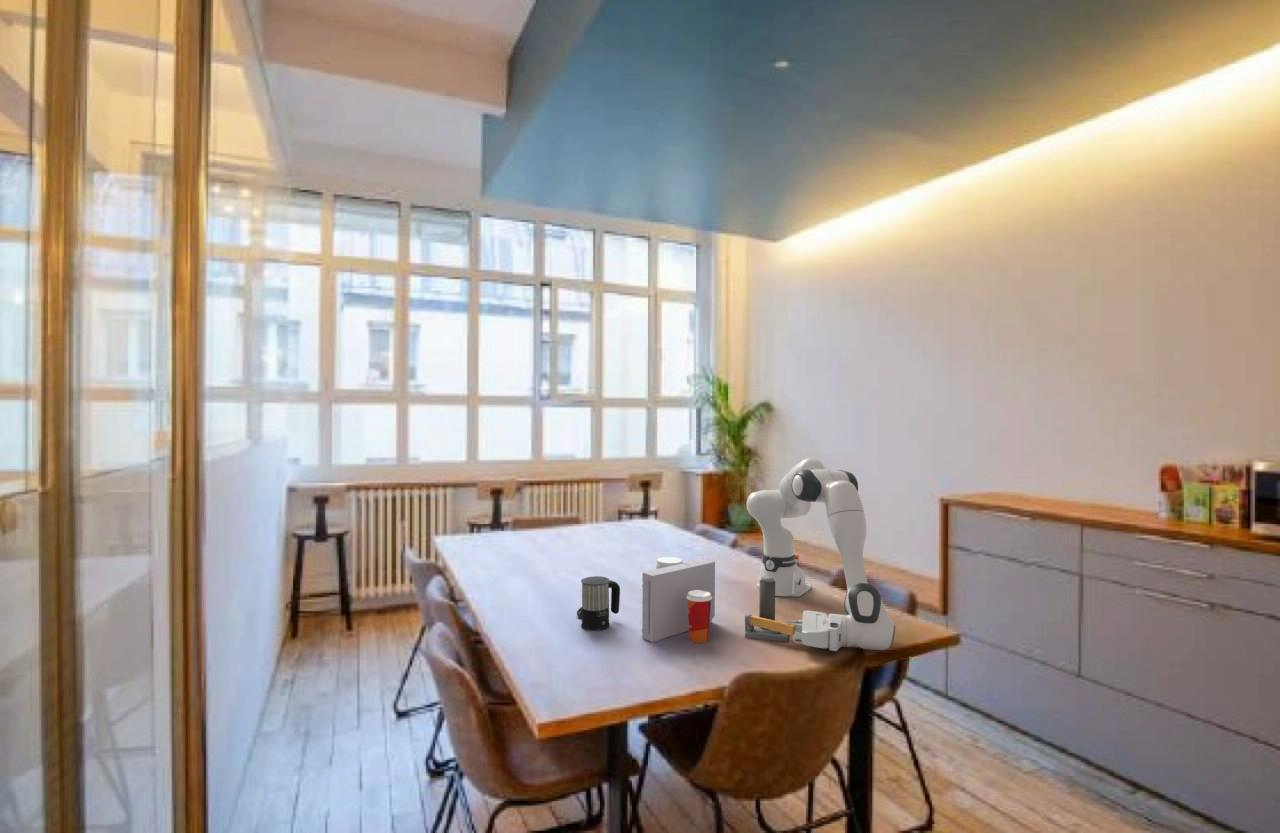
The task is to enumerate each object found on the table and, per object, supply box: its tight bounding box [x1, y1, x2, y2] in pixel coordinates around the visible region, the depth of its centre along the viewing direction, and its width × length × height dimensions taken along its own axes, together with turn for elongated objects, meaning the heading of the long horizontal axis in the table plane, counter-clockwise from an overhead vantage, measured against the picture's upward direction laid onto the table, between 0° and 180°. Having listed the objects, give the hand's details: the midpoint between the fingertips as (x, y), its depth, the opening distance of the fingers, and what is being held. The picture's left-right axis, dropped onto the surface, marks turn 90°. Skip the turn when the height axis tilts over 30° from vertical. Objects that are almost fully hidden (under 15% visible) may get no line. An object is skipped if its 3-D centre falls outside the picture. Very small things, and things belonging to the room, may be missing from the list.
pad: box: [794, 631, 802, 642], centre depth 183 cm, size 9×9×1 cm
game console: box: [641, 558, 716, 643], centre depth 189 cm, size 6×27×20 cm, turn 130°
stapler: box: [744, 613, 795, 636], centre depth 181 cm, size 16×2×3 cm, turn 53°
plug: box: [753, 576, 781, 635], centre depth 187 cm, size 8×8×17 cm
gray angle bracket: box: [744, 625, 789, 642], centre depth 187 cm, size 12×12×1 cm
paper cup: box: [686, 590, 712, 644], centre depth 180 cm, size 8×8×14 cm
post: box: [744, 623, 753, 632], centre depth 185 cm, size 2×2×3 cm
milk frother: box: [576, 575, 621, 632], centre depth 195 cm, size 14×16×15 cm
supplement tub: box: [655, 556, 683, 569], centre depth 218 cm, size 10×10×15 cm
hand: (786, 624), depth 179 cm, fingers closed
